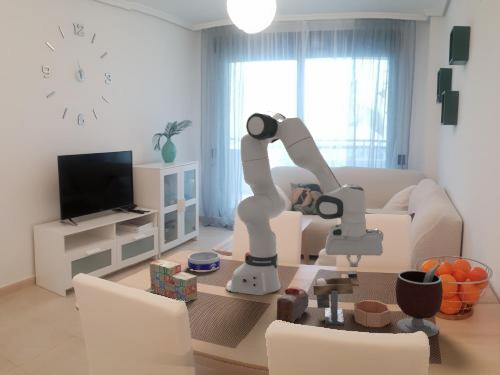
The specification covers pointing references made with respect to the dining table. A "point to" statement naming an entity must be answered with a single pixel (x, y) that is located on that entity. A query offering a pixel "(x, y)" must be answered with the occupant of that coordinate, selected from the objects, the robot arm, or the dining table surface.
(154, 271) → the stack of blocks
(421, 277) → the mate gourd
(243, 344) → the dining table surface
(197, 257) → the dog bowl
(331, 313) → the chute stand
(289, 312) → the food item
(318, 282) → the ball
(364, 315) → the octagonal bowl
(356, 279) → the tipping chute
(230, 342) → the dining table surface
